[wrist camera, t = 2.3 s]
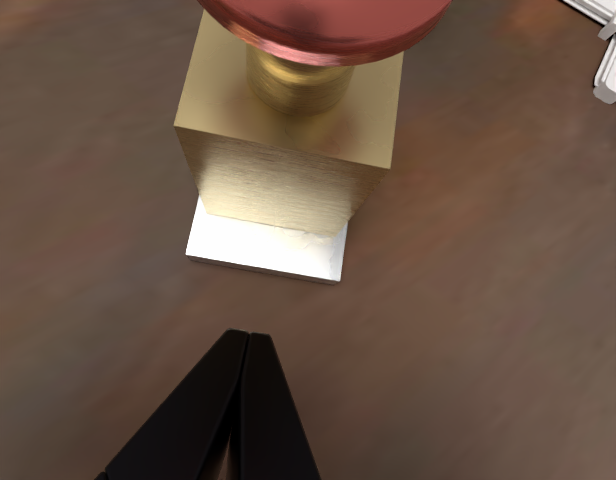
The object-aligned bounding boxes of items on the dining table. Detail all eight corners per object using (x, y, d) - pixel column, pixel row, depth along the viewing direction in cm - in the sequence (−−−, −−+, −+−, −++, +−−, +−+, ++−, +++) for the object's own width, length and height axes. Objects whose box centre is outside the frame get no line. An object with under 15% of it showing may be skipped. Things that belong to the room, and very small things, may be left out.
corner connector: (510, 53, 26) (527, 34, 24) (554, -31, 28) (572, -53, 26) (621, 119, 25) (645, 105, 24) (657, 31, 28) (681, 12, 26)
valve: (334, 243, 19) (481, 71, 7) (205, 219, 19) (109, -15, 6) (354, 98, 21) (499, -241, 9) (238, 73, 21) (215, -325, 8)
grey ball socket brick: (367, 291, 20) (466, 249, 11) (154, 254, 20) (59, 173, 10) (407, -51, 26) (498, -280, 16) (242, -93, 25) (236, -361, 15)
